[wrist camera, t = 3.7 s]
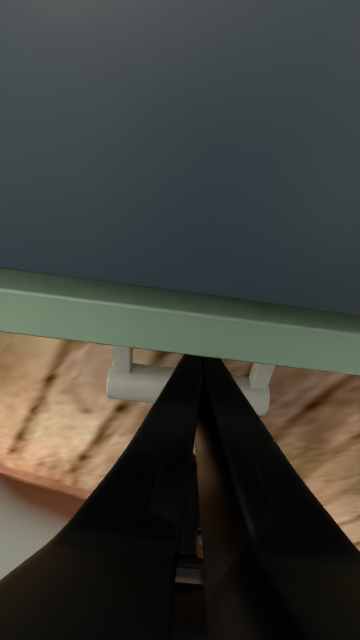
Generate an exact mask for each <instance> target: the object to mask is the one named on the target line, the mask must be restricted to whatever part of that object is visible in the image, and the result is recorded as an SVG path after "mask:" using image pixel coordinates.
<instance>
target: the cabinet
mask: <svg viewBox="0 0 360 640" xmlns="http://www.w3.org/2000/svg"><path fill="white" fill-rule="evenodd" d="M0 268H1V269H8V270H16V271H24V272H32V273H39V274H47V275H55V276H63V277H70V278H78V279H86V280H94V281H101V282H109V283H117V284H125V285H132V286H140V287H148V288H156V289H163V290H171V291H179V292H186V293H194V294H202V295H210V296H217V297H225V298H233V299H241V300H248V301H256V302H264V303H272V304H279V305H287V306H295V307H303V308H310V309H318V310H326V311H334V312H341V313H349V314H357V315H360V0H0Z"/></svg>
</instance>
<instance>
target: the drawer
mask: <svg viewBox="0 0 360 640" xmlns="http://www.w3.org/2000/svg"><path fill="white" fill-rule="evenodd" d="M0 332H7V333H15V334H24V335H32V336H40V337H48V338H56V339H64V340H73V341H81V342H89V343H97V344H105V345H113V356H114V361H113V362H112V364H111V366H110V368H109V372H108V377H107V383H106V395H107V397H108V398H111V399H120V400H129V401H137V402H146V403H155V401H156V399H157V398H158V396H159V394H160V393H161V391H162V389H163V388H164V386H165V385H166V383H167V381H168V380H169V378H170V376H171V375H172V373H173V371H174V370H175V368H169V367H160V366H152V365H144V364H136V363H132V360H133V348H138V349H146V350H154V351H163V352H171V353H179V354H187V355H195V356H203V357H212V358H220V359H228V360H236V361H244V362H253V366H252V369H251V371H250V374H249V377H243V376H235V375H232V377H233V378H234V380H235V381H236V383H237V384H238V386H239V387H240V389H241V390H242V392H243V393H244V395H245V396H246V398H247V399H248V401H249V403H250V404H251V406H252V407H253V409H254V410H255V412H256V413H257V415H258V416H263V415H265V414H266V413H267V410H268V407H269V402H270V390H269V385H268V383H269V381H270V378H271V376H272V374H273V371H274V369H275V367H276V365H277V366H285V367H293V368H302V369H310V370H318V371H326V372H334V373H343V374H351V375H359V376H360V315H357V314H349V313H341V312H334V311H326V310H318V309H310V308H303V307H295V306H287V305H279V304H272V303H264V302H256V301H248V300H241V299H233V298H225V297H217V296H210V295H202V294H194V293H186V292H179V291H171V290H163V289H156V288H148V287H140V286H132V285H125V284H117V283H109V282H101V281H94V280H86V279H78V278H70V277H63V276H55V275H47V274H39V273H32V272H24V271H16V270H8V269H1V268H0Z"/></svg>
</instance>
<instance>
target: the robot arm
mask: <svg viewBox="0 0 360 640" xmlns="http://www.w3.org/2000/svg"><path fill="white" fill-rule="evenodd" d="M194 441H195V447H196V457H195V456H194V455H192V454H193V447H194ZM273 441H274V439H273V437H272V436H271V434H270V433H269V431H268V430H267V428H266V427H265V425H264V424H263V422H262V421H261V419H260V418H259V416H258V415H257V413H256V412H255V410H254V409H253V407H252V406H251V404H250V403H249V401H248V399H247V398H246V396H245V395H244V393H243V392H242V390H241V389H240V387H239V386H238V384H237V383H236V381H235V380H234V378H233V377H232V375H231V374H230V372H229V371H228V369H227V368H226V366H225V365H224V363H223V361H222V360H221V359H220V358H212V357H203V356H195V355H187V354H184V355H183V356H182V358H181V360H180V361H179V363H178V365H177V366H176V368H175V370H174V371H173V373H172V375H171V376H170V378H169V380H168V381H167V383H166V385H165V386H164V388H163V389H162V391H161V393H160V394H159V396H158V398H157V399H156V401H155V403H154V404H153V406H152V408H151V409H150V411H149V413H148V414H147V416H146V418H145V419H144V421H143V423H142V424H141V427H139V429H138V431H137V432H136V434H135V435H134V437H133V439H132V440H131V442H130V443H129V445H128V446H127V448H126V449H125V451H124V452H123V454H122V455H121V457H120V458H119V459H118V461H117V462H116V463H115V465H114V466H113V467H112V469H111V470H110V471H109V472H108V474H107V475H106V476H105V477H104V479H103V480H102V481H101V482H100V484H99V485H98V486H97V487H96V489H95V490H94V491H93V492H92V494H91V495H90V496H89V497H88V498H87V500H86V501H85V502H84V504H83V505H82V506H81V507H80V508H79V510H78V511H77V512H76V513H75V515H74V516H73V517H72V518H71V519H70V521H69V522H68V523H67V524H66V525H65V526H64V527H63V529H62V530H61V531H60V532H59V533H58V534H57V535H56V536H55V537H54V538H53V539H51V540H50V541H49V542H48V543H47V544H46V545H45V546H43V547H42V548H41V549H40V550H38V551H37V552H36V553H35V554H33V555H32V556H31V557H30V558H28V559H27V560H26V561H24V562H23V563H22V564H20V565H19V566H18V567H17V568H15V569H14V570H13V571H11V572H10V573H9V574H8V575H6V576H5V577H4V578H2V579H1V580H0V640H360V551H359V550H358V549H357V548H356V547H355V546H354V544H353V543H352V542H351V541H350V540H349V538H348V537H347V536H346V535H345V533H344V532H343V531H342V530H341V528H340V527H339V526H338V525H337V523H336V522H335V521H334V520H333V518H332V517H331V516H330V515H329V513H328V512H327V511H326V510H325V508H324V507H323V506H322V505H321V503H320V502H319V501H318V500H317V498H316V497H315V496H314V495H313V493H312V492H311V491H310V490H309V488H308V487H307V486H306V484H305V483H304V482H303V480H302V479H301V478H300V477H299V475H298V474H297V473H296V471H295V470H294V468H293V467H292V465H291V464H290V463H289V461H288V460H287V458H286V457H285V455H284V454H283V452H282V451H281V449H280V448H279V446H278V445H277V443H276V442H273ZM201 549H202V550H201ZM201 551H202V552H203V558H202V552H201Z"/></svg>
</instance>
